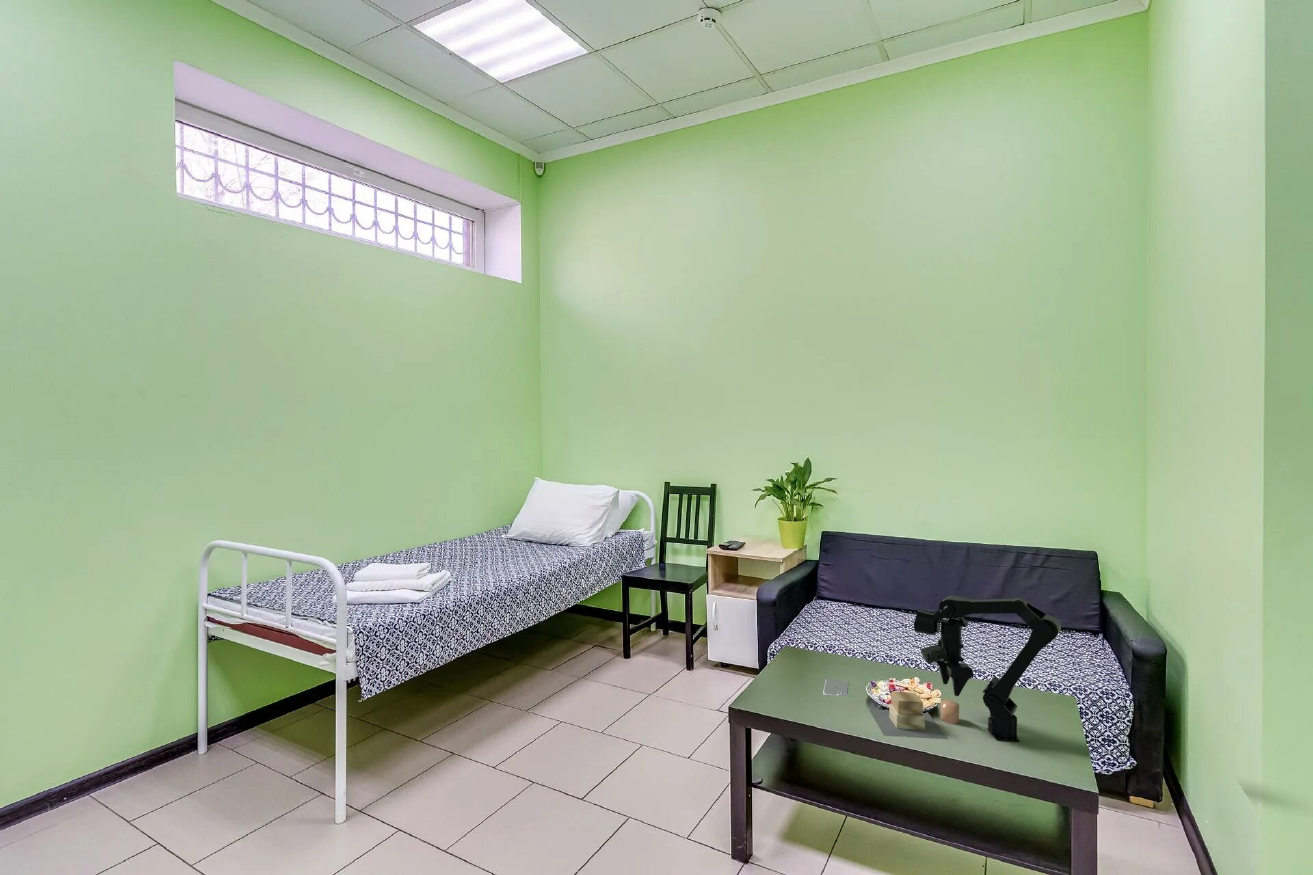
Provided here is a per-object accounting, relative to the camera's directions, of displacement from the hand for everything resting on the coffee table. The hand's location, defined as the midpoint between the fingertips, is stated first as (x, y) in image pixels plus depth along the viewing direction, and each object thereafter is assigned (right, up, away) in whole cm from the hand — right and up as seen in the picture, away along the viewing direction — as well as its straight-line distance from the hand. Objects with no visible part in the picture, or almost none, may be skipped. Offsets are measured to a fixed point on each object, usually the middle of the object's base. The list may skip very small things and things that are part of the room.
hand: (950, 689), depth 191 cm
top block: (-14, -5, -3) cm, 16 cm away
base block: (-15, -9, -3) cm, 17 cm away
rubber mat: (-15, -9, -3) cm, 17 cm away
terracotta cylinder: (0, -10, 0) cm, 10 cm away
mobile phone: (-28, -10, +25) cm, 39 cm away
